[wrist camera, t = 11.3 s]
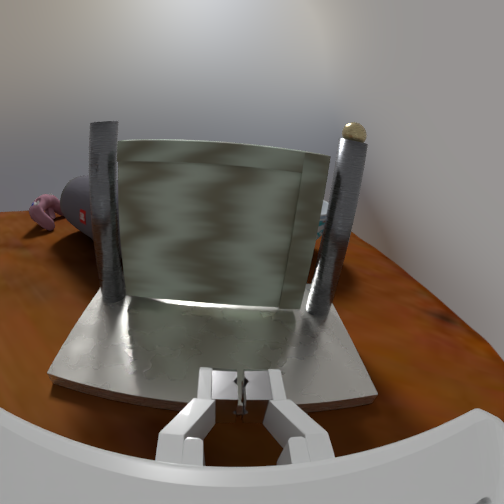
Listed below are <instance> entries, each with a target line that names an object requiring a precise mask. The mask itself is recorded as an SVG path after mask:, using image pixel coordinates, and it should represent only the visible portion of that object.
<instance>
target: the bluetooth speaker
mask: <svg viewBox="0 0 504 504" xmlns="http://www.w3.org/2000/svg"><path fill="white" fill-rule="evenodd" d="M116 191H117V219H118V234H119V247H120V257H121V258H122V252H121V240H120V226H119V205H118V180H116ZM60 208H61V211H62V213H63V215H64V216H65V218H66V219H67V220H68V221H69V222H70V223H71V224H72V225H73V226H75V227H76V228H77V229H79V230H80V231H81V232H83V233H84V234H85V235H87V236H88V237H90V238H91V239H92V240H93V233H92V222H91V209H90V191H89V176H80V177H76V178H74V179H72V180H70V181H69V182H68V183H67V185H66V186H65V188H64V189H63V191H62V194H61V199H60Z"/></svg>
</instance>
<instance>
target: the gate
mask: <svg viewBox="0 0 504 504" xmlns="http://www.w3.org/2000/svg"><path fill="white" fill-rule="evenodd" d="M117 162H118V205H119V226H120V240H121V252H122V262H123V271H124V279H125V286H126V294H127V295H130V296H138V297H147V298H156V299H166V300H176V301H187V302H199V303H212V304H226V305H243V306H262V307H278V308H279V309H299V310H300V308H301V304H302V300H303V296H304V291H305V287H306V283H307V278H308V274H309V269H310V265H311V260H312V256H313V251H314V246H315V241H316V236H317V231H318V226H319V221H320V216H321V210H322V205H323V199H324V194H325V188H326V182H327V176H328V169H329V163H330V156H327V155H323V154H317V153H312V152H305V151H299V150H292V149H285V148H277V147H269V146H261V145H252V144H241V143H229V142H216V141H215V142H214V141H198V140H122V141H118V144H117Z"/></svg>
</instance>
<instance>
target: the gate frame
mask: <svg viewBox="0 0 504 504" xmlns="http://www.w3.org/2000/svg"><path fill="white" fill-rule="evenodd" d="M117 135H118V121H107V122H94V123H90V138H89V140H90V141H89V191H90V209H91V222H92V233H93V242H94V250H95V257H96V264H97V271H98V277H99V282H100V289H99V291H98V292H97V293H96V295H95V296H94V298H93V299H92V301H91V302H90V304H89V305H88V307H87V308H86V309H85V311H84V313H83V314H82V316H81V317H80V319H79V320H78V322H77V323H76V325H75V326H74V328H73V330H72V331H71V333H70V334H69V336H68V338H67V339H66V341H65V342H64V344H63V346H62V347H61V349H60V351H59V353H58V354H57V356H56V358H55V359H54V361H53V363H52V365H51V367H50V368H49V370H48V372H47V374H48V376H49V378H50V379H51V381H52V383H53V384H56V385H59V386H63V387H66V388H69V389H72V390H76V391H79V392H83V393H86V394H90V395H94V396H98V397H102V398H106V399H111V400H115V401H120V402H125V403H130V404H135V405H141V406H147V407H153V408H160V409H168V410H176V411H181V410H182V409H183V408H184V407H185V406H186V405H187V404H188V403H189V402H190V401H191V400H192V399H193V398H197V390H198V378H199V369H200V367H207V368H212V370H213V368H221V369H237V386H238V408H237V410H236V412H237V415H242V404H243V403H242V402H241V382H242V381H243V377H242V374H243V369H267V370H268V369H280V370H281V374H282V379H283V383H284V388H285V393H286V397H287V399H291V400H292V401H293V402H294V403H295V404H296V405H297V406H298V407H299V408H300V409H301V410H303V411H304V412H305V413H306V412H317V411H326V410H334V409H342V408H348V407H355V406H361V405H367V404H372V402H373V401H374V399H375V398H376V396H377V395H378V393H377V391H376V389H375V387H374V385H373V383H372V381H371V379H370V377H369V374H368V372H367V370H366V368H365V366H364V364H363V362H362V360H361V358H360V356H359V354H358V352H357V350H356V348H355V346H354V344H353V342H352V340H351V338H350V336H349V334H348V332H347V330H346V329H345V327H344V325H343V323H342V321H341V319H340V317H339V315H338V313H337V311H336V309H335V308H334V306H333V304H332V301H333V298H334V294H335V291H336V287H337V284H338V280H339V277H340V273H341V270H342V266H343V262H344V258H345V254H346V250H347V246H348V242H349V238H350V234H351V229H352V225H353V221H354V216H355V212H356V207H357V202H358V197H359V192H360V186H361V182H362V176H363V170H364V165H365V158H366V151H367V144H365V143H364V141H365V140H366V131H365V129H364V127H363V126H362V125H360V124H359V123H355V122H352V123H348V124H347V125H346V126H345V127H344V128H343V131H342V135H343V138H344V139H342V138H339V142H338V149H337V156H336V162H335V169H334V175H333V181H332V187H331V192H330V198H329V203H328V209H327V214H326V219H325V224H324V229H323V234H322V239H321V244H320V248H319V253H318V257H317V262H316V266H315V271H314V275H313V279H312V283H311V284H306V287H305V291H304V296H303V300H302V304H301V308H300V310H299V309H279V308H278V307H262V306H243V305H226V304H212V303H199V302H187V301H176V300H166V299H156V298H147V297H138V296H130V295H127V294H126V286H125V279H124V271H122V266H121V257H120V247H119V234H118V219H117V191H116V162H117Z"/></svg>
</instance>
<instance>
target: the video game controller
mask: <svg viewBox="0 0 504 504" xmlns="http://www.w3.org/2000/svg"><path fill="white" fill-rule="evenodd" d="M44 210H45V212H44ZM54 212H55V213H57V214H59V215H61V216H64V215H63V213H62V211H61V208H60V201H59V200H58V199H57V198H56V197H55V196H54V195H52V194H51V193H50V194H49V195H47V194H44V195H42V196H40V197H38V198H37V199H36V200H35V201H34V202H33V204H32V206H31V207H30V208H29V213H30V216H31V218H32V219H33V220H34V221H35V222H37V223H38V224H39V225H40V226H41V227H43V228H44V229H46V230H49V231H51V230H53V229H54V228H55V224H54V222H53V220H54V219H55V213H54Z"/></svg>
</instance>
